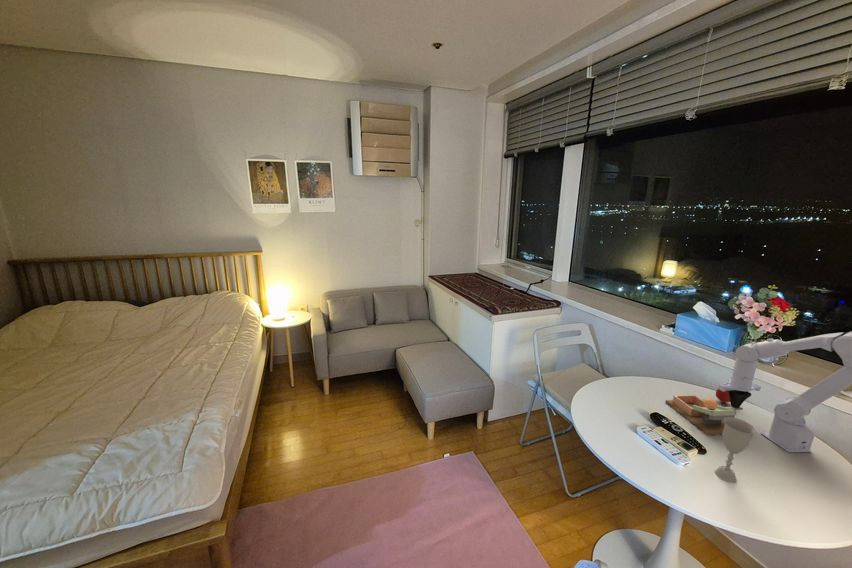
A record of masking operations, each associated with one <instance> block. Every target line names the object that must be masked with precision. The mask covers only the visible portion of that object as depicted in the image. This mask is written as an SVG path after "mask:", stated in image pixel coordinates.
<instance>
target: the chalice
mask: <svg viewBox="0 0 852 568" xmlns="http://www.w3.org/2000/svg"><path fill="white" fill-rule="evenodd" d="M724 422H725V426H724V430H723V435H722V440H723V443H724V446H725V449H726V450H727V452H729V453H728V454H727V456H726V457H727V459H726V460H725V463H726V465H719V467H718V468H716V469H715V470H714V474H715V475H716V476H717V477H718V479H721V480H723V481H725V482H727V483H731V484H732V483H733V484H734V483H737V481H738V480H737V479H738V478H737V476H736V473H735V471H734V470H733V469H732V468H731V466H733V465H734V463H733V462H732V461H733V460H734V459H735V458H734V455H738V454H740V453H742V452H743V451H744V450H746V448H748V446H749V445H750V442H751V439H752V435H753V434H754V433H755V432H756V427H754V426H753V425H752V424H750V423H749V422H747V421H745V420H743V419H740V418H737V417H735V418H733V417H726V418H724Z"/></svg>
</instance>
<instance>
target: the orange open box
mask: <svg viewBox="0 0 852 568" xmlns="http://www.w3.org/2000/svg"><path fill="white" fill-rule="evenodd" d="M672 400H673V403H674V404H675V405H676V406H678V407H679V408H680V409H682V410H683V411H684V412H686V413H687V414H688V415H689V416H703V414H704V413H703V412H700V411H697V410H694V409H693V408H691V407H690V406H689V405H687V404H686V403H694V404H696V405H697V406H699V407H702V408H704V407H705V406H704V401H703V400H702V399H701V398H700V397H698V396H697V395H696V394H691V395H690V394H683V395H681V394H679V395H677V394H676V395H673V398H672Z"/></svg>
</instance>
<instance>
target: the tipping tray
mask: <svg viewBox="0 0 852 568" xmlns="http://www.w3.org/2000/svg"><path fill="white" fill-rule="evenodd" d="M693 409H694V410H697V411H700V412H703V413H705V414H708V415H709V419H711V420H724V418H726V417H733V418H736V416H737V411H740V410H741V411H742V410H744V408H743V407H741V406H740V407H739V408H735V407H732V406H731V405H726V406H721V405H719V404H718V407H717V408H716V409H715V410H710V409H708V408H706V407H704V408H702V407H699V406H696V405H693Z"/></svg>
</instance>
